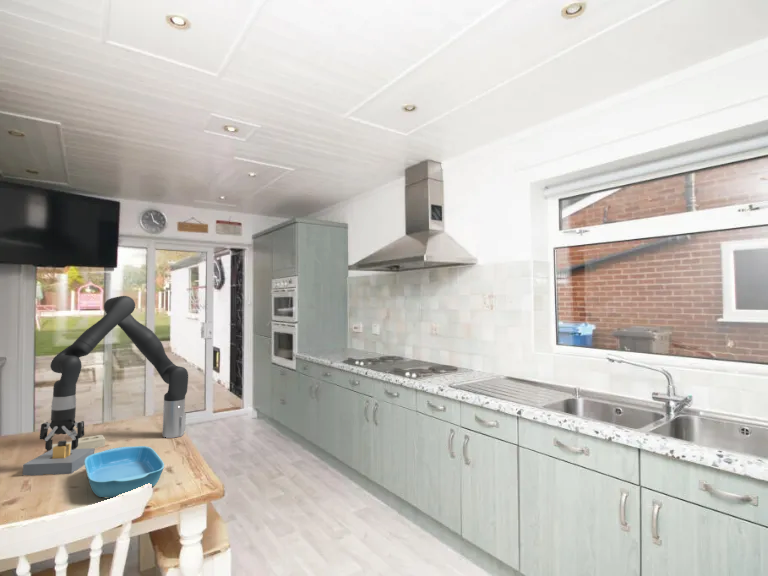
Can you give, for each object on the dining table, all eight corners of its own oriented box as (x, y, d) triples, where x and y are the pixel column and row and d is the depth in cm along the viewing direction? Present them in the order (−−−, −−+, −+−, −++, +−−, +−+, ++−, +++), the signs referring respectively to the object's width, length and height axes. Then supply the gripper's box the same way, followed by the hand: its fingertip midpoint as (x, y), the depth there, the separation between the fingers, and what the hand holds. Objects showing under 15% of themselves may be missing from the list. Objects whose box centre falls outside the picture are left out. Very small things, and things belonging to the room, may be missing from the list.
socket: (94, 458, 169) (94, 448, 169) (71, 473, 153) (72, 462, 153) (50, 460, 166) (50, 449, 167) (22, 475, 151) (23, 464, 151)
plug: (69, 461, 162) (71, 439, 163) (63, 465, 158) (64, 442, 159) (58, 462, 162) (59, 440, 162) (52, 466, 158) (53, 443, 158)
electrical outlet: (52, 442, 177) (102, 434, 189) (51, 451, 177) (102, 443, 189) (53, 446, 172) (105, 438, 184) (52, 456, 172) (104, 447, 184)
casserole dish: (170, 490, 141) (171, 468, 141) (90, 509, 127) (91, 485, 127) (147, 459, 169) (148, 441, 170) (80, 472, 155) (81, 453, 155)
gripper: (89, 404, 166) (87, 445, 165) (49, 405, 164) (47, 447, 163) (78, 409, 159) (76, 452, 158) (36, 409, 156) (34, 453, 155)
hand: (61, 449), depth 160 cm, fingers open, 8 cm apart
